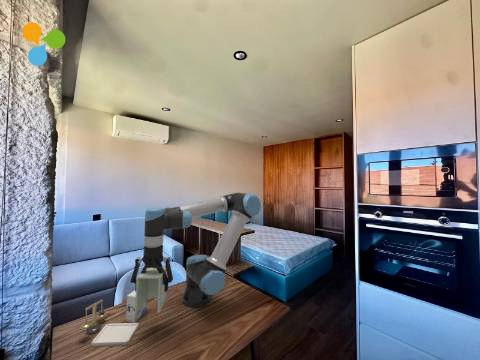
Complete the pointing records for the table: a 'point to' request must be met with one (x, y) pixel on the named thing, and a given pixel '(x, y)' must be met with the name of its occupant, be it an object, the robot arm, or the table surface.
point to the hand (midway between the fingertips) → (151, 298)
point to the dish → (115, 334)
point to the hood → (149, 287)
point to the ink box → (130, 308)
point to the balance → (93, 319)
